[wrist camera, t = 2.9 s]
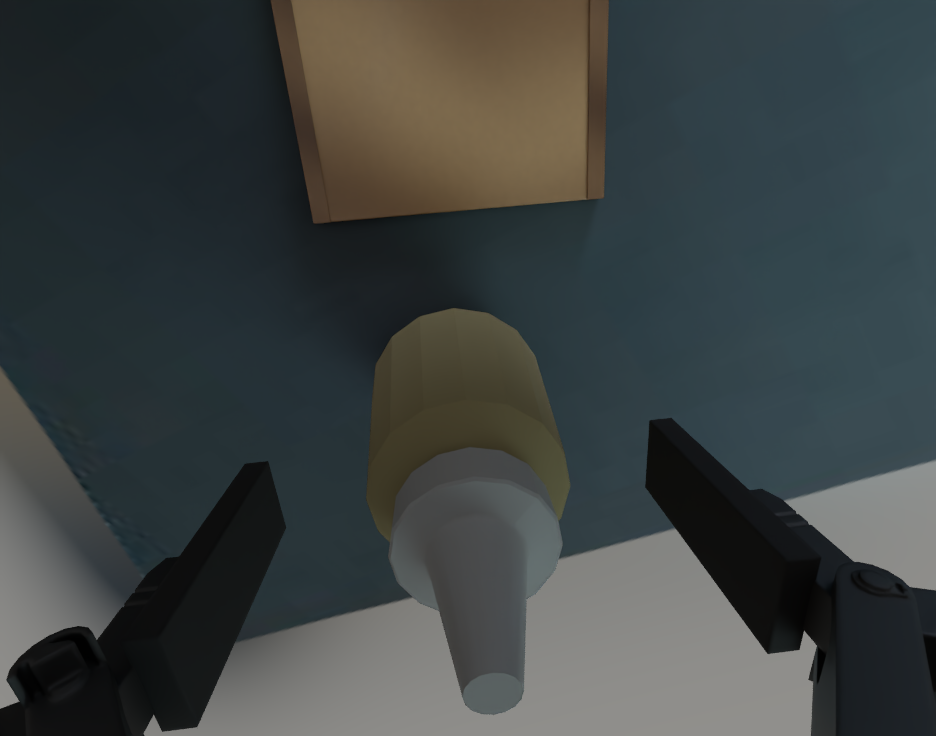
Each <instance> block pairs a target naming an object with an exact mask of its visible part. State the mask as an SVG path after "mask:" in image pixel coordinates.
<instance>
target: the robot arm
mask: <svg viewBox="0 0 936 736" xmlns="http://www.w3.org/2000/svg"><path fill="white" fill-rule="evenodd" d="M645 487H646V489H647V490H648V491H649V493H650V494H651V495H652V497H653V498H654V500H655V501H656V502H657V504H658V505H659V506H660V508H661V509H662V510H663V512H664V513H665V515H666V516H667V517H668V519H669V520H670V521H671V523H672V524H673V525H674V527H675V528H676V530H677V531H678V532H679V534H680V535H681V536H682V538H683V539H684V540H685V542H686V543H687V545H688V546H689V547H690V549H691V550H692V551H693V553H694V554H695V555H696V557H697V558H698V559H699V561H700V562H701V564H702V565H703V566H704V568H705V569H706V570H707V572H708V573H709V574H710V576H711V577H712V578H713V580H714V581H715V583H716V584H717V585H718V587H719V588H720V589H721V591H722V592H723V593H724V595H725V596H726V598H727V599H728V600H729V602H730V603H731V605H732V606H733V607H734V608H735V610H736V611H737V613H738V614H739V615H740V617H741V618H742V620H743V621H744V622H745V624H746V625H747V626H748V628H749V629H750V630H751V632H752V633H753V635H754V636H755V637H756V639H757V640H758V641H759V643H760V644H761V645H762V647H763V648H764V650H765V651H766V652H767V654H770V653H779V652H786V651H794V650H799V649H800V645H801V641H802V637H803V632H804V631H805V632H806V633H807V634H808V635H809V636H810V638H811V639H812V640H813V641H814V642H815V644H816V645H817V648H816V652H815V656H814V660H813V664H812V667H811V672H810V675H809V680H811V681H813V702H812V725H811V736H936V591H935V590H927V589H920V588H912V587H909V586H908V585H907V584H906V583H905V582H904V581H903V580H902V579H900V578H899V577H897V576H895V575H894V574H892V573H890V572H889V571H887V570H884V569H881V568H879V567H876V566H874V565H870V564H865V563H860V562H854V561H852V560H851V559H850V558H849V557H848V556H846V555H845V554H844V553H843V552H842V551H841V550H840V549H838V548H837V547H836V546H835V545H834V544H833V543H832V542H830V541H829V540H828V539H827V538H826V537H825V536H823V535H822V534H821V533H820V532H819V531H818V530H816V529H815V528H814V527H813V526H812V525H809V524H808V522H807V521H806V520H805V519H804V518H803V517H802V516H800V515H799V514H796V511H795V510H793V509H792V508H791V507H790V506H789V505H788V504H786V503H785V502H784V501H783V500H782V499H780V498H778V497H776V496H774V495H773V494H771V493H769V492H767V491H765V490H763V489H757V490H748V489H747V488H746V487H745V486H744V485H743V484H742V483H741V482H740V481H739V480H738V479H737V478H735V477H734V476H733V475H732V474H731V473H730V472H729V471H728V470H727V469H726V468H725V467H724V466H722V465H721V464H720V463H719V462H718V461H717V460H716V459H715V458H714V457H713V456H712V455H711V454H710V453H708V452H707V451H706V450H705V449H704V448H703V447H702V446H701V445H700V444H699V443H698V442H697V441H695V440H694V439H693V438H692V437H691V436H690V435H689V434H688V433H687V432H686V431H685V430H684V429H683V428H681V427H680V426H679V425H678V424H677V423H676V422H675V421H674V420H673V419H672V418H667V419H658V420H650V423H649V439H648V454H647V470H646V485H645ZM285 529H286V526H285V522H284V518H283V515H282V511H281V507H280V504H279V500H278V496H277V493H276V489H275V485H274V482H273V478H272V474H271V470H270V467H269V463H268V461H266V462H257V463H248V464H244V466H243V467H242V469H241V470H240V472H239V473H238V474H237V476H236V477H235V479H234V480H233V481H232V483H231V484H230V486H229V487H228V489H227V490H226V491H225V493H224V494H223V496H222V497H221V498H220V500H219V501H218V503H217V504H216V506H215V507H214V508H213V510H212V511H211V513H210V514H209V515H208V517H207V518H206V520H205V521H204V523H203V524H202V525H201V527H200V528H199V530H198V531H197V532H196V534H195V535H194V537H193V538H192V540H191V541H190V542H189V544H188V545H187V547H186V548H185V549H184V551H183V552H182V554H181V555H180V556H179V557H173V558H166V559H165V560H163V561H162V562H161V563H160V564H159V565H157V566H156V567H155V568H154V569H152V570H151V571H150V572H149V573H148V574H147V575H146V576H145V578H144V579H143V580H142V581H141V583H140V584H139V585H138V587H137V588H136V590H135V593H133V594H132V595H131V596H130V597H129V599H128V600H127V601H126V603H125V606H124V607H122V608H121V609H120V610H119V612H118V613H117V614H116V616H115V617H114V618H113V620H112V621H111V622H110V624H109V625H108V626H107V628H106V629H105V630H104V631H103V633H102V634H101V635H100V637H99V638H98V640H96V638H95V637H94V635H93V633H92V631H91V630H90V629H89V628H88V627H81V626H77V627H72V628H67V629H63V630H61V631H59V632H57V633H54V634H52V635H49V636H48V637H46V638H45V639H43V640H41V641H40V642H38V643H37V644H35V645H33V646H32V647H31V648H30V649H28V650H27V651H26V652H25V653H24V654H23V655H21V656H20V657H19V658H18V660H17V661H16V662H15V663H14V665H13V666H12V667H11V669H10V671H9V674H8V677H7V682H8V683H9V685H10V687H11V688H12V690H13V691H14V693H15V695H16V696H17V698H18V700H19V701H20V702H17V703H15V704H12V705H9V706H7V707H4V708H1V709H0V736H144V734H143V733H144V731H145V729H146V728H147V726H148V724H149V722H150V720H151V718H152V717H153V715H154V716H155V718H156V720H157V722H158V724H159V726H160V728H161V730H162V732H163V731H171V730H179V729H187V728H194V727H197V726H198V724H199V722H200V720H201V717H202V715H203V712H204V711H205V708H206V706H207V704H208V702H209V699H210V697H211V695H212V693H213V691H214V688H215V686H216V684H217V681H218V679H219V677H220V675H221V673H222V670H223V668H224V666H225V663H226V661H227V659H228V657H229V655H230V652H231V650H232V648H233V646H234V643H235V641H236V639H237V637H238V634H239V632H240V630H241V628H242V625H243V623H244V621H245V619H246V616H247V614H248V612H249V610H250V607H251V605H252V603H253V601H254V598H255V596H256V594H257V592H258V590H259V587H260V585H261V583H262V581H263V578H264V576H265V574H266V572H267V569H268V567H269V565H270V563H271V560H272V558H273V556H274V554H275V551H276V549H277V547H278V545H279V542H280V540H281V538H282V536H283V533H284V531H285Z"/></svg>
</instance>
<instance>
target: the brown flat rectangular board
mask: <svg viewBox="0 0 936 736" xmlns="http://www.w3.org/2000/svg"><path fill="white" fill-rule="evenodd" d="M271 5H272V10H273V16H274V21H275V26H276V31H277V36H278V42H279V47H280V52H281V57H282V62H283V67H284V73H285V78H286V83H287V88H288V93H289V99H290V104H291V109H292V114H293V119H294V124H295V130H296V135H297V140H298V145H299V150H300V156H301V161H302V166H303V171H304V176H305V181H306V187H307V192H308V197H309V202H310V207H311V213H312V218H313V223H314V224H317V223H328V222H338V221H350V220H361V219H372V218H384V217H395V216H406V215H418V214H429V213H440V212H452V211H463V210H474V209H486V208H497V207H508V206H520V205H531V204H542V203H554V202H565V201H576V200H589V199H601V198H604V171H605V130H606V89H607V48H608V7H609V0H271Z"/></svg>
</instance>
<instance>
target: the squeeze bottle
mask: <svg viewBox="0 0 936 736" xmlns="http://www.w3.org/2000/svg"><path fill="white" fill-rule="evenodd" d="M569 488H570V481H569V475H568V470H567V464H566V459H565V453H564V450H563V446H562V443H561V440H560V436H559V433H558V430H557V427H556V423H555V420H554V417H553V413H552V410H551V407H550V403H549V400H548V397H547V394H546V390H545V387H544V384H543V380H542V377H541V374H540V371H539V367H538V364H537V361H536V357H535V355H534V354H533V352H532V351H531V350H530V348H529V347H528V345H527V344H526V342H525V341H524V340H523V338H522V337H521V335H520V334H519V333H518V331H517V330H516V329H514V328H512V327H511V326H509V325H507V324H506V323H504V322H502V321H501V320H499V319H497V318H496V317H494V316H492V315H491V314H489V313H485V312H478V311H471V310H464V309H457V308H452V309H448V310H444V311H440V312H435V313H431V314H427V315H423V316H419V317H418V318H417V319H415V320H414V321H413V322H411V323H410V324H409V325H407V326H406V327H404V328H403V329H402V330H400V331H399V332H398V333H396V334H395V335H394V336H392V338H391V339H390V341H389V343H388V344H387V346H386V348H385V349H384V351H383V353H382V355H381V356H380V358H379V360H378V361H377V363H376V366H375V376H374V386H373V396H372V412H371V429H370V445H369V462H368V478H367V495H366V500H367V503H368V506H369V508H370V511H371V513H372V516H373V519H374V521H375V524H376V527H377V529H378V531H379V532H380V533H381V534H382V535H383V536H384V537H385V538H386V539H387V540H388V541H389V542H390V547H389V554H388V559H389V561H390V564H391V566H392V569H393V572H394V574H395V577H396V579H397V582H398V584H399V585H401V586H402V587H403V588H404V589H405V590H406V591H407V592H408V593H409V594H410V595H411V596H412V597H413V598H414V599H415V600H417V601H418V602H419V603H420V604H423V605H425V606H428V607H430V608H433V609H435V610H438V611H439V612H440V616H441V619H442V623H443V626H444V630H445V634H446V638H447V641H448V645H449V649H450V652H451V656H452V660H453V664H454V667H455V671H456V675H457V678H458V682H459V686H460V690H461V693H462V697H463V700H464V702H465V705H466V706H467V707H469V708H470V709H471V710H472V711H475V712H477V713H481V714H493V715H494V714H498V713H502V712H506V711H508V710H509V709H511V708H513V707H515V706H516V705H517V704H518V702H519V701H520V700H521V699H522V695H523V692H524V664H525V663H524V662H525V630H526V599H528V598H529V597H531V596H533V595H534V594H536V593H537V591H538V590H539V589H540V588H541V587H542V586H543V584H544V583H545V582H546V581H547V579H548V578H549V577H550V576H551V575H552V573H553V572H554V571H555V569H556V566H557V562H558V559H559V555H560V552H561V549H562V545H563V543H562V538H561V533H560V528H559V523H558V521H559V520H560V518H561V516H562V513H563V509H564V506H565V502H566V499H567V495H568V492H569Z"/></svg>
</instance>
